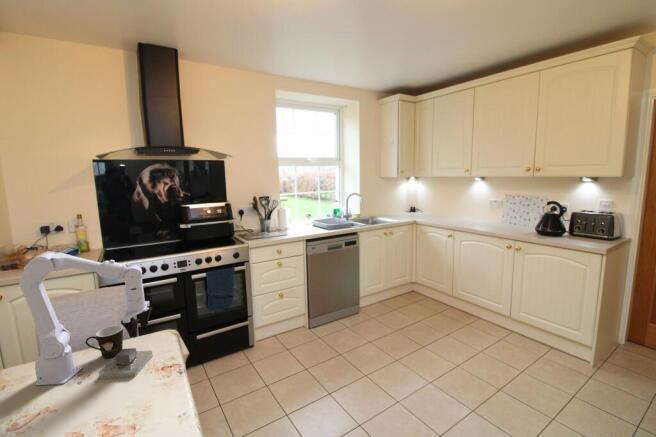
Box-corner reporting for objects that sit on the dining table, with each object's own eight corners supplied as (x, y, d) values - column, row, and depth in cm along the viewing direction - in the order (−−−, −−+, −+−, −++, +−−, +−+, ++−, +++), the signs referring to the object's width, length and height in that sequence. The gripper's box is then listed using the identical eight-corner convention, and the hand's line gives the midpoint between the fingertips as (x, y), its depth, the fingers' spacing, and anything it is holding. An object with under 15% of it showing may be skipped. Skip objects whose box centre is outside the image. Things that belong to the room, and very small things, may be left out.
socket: (99, 378, 106) (98, 370, 106) (120, 358, 118) (119, 350, 117) (135, 376, 107) (134, 368, 106) (152, 356, 119) (151, 349, 118)
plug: (117, 371, 110) (115, 355, 109) (125, 363, 114) (123, 348, 113) (130, 370, 110) (129, 355, 109) (137, 363, 115) (135, 348, 114)
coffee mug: (130, 348, 124) (128, 325, 123) (114, 361, 116) (111, 336, 114) (104, 347, 125) (101, 324, 124) (86, 360, 117) (82, 335, 115)
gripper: (135, 305, 108) (139, 341, 110) (155, 290, 122) (159, 322, 124) (114, 306, 108) (119, 342, 110) (137, 290, 122) (141, 323, 124)
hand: (139, 331), depth 117 cm, fingers open, 7 cm apart
